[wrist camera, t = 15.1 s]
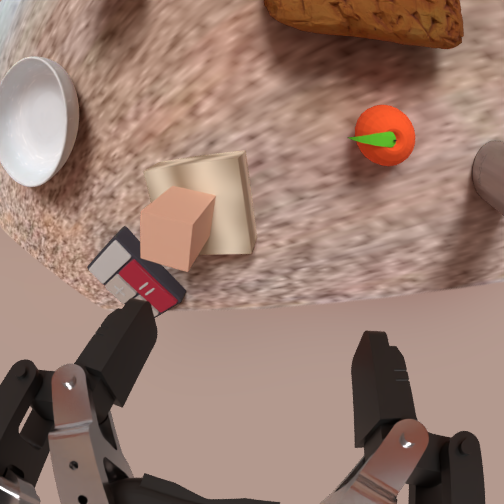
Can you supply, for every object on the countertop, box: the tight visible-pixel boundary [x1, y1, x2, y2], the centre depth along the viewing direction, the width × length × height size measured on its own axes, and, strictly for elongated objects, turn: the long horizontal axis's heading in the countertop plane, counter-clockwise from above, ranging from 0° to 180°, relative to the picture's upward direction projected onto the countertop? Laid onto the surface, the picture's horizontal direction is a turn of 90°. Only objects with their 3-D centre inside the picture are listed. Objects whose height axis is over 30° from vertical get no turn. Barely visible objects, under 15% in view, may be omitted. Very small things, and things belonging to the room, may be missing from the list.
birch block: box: [143, 150, 257, 255], centre depth 37 cm, size 12×12×5 cm
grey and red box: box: [87, 226, 186, 318], centre depth 46 cm, size 11×4×15 cm
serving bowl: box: [0, 56, 79, 187], centre depth 32 cm, size 21×21×7 cm
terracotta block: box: [140, 186, 216, 272], centre depth 31 cm, size 6×6×8 cm
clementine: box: [347, 105, 415, 166], centre depth 27 cm, size 8×7×7 cm
